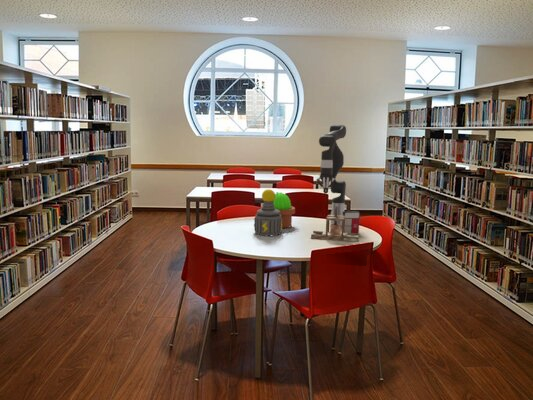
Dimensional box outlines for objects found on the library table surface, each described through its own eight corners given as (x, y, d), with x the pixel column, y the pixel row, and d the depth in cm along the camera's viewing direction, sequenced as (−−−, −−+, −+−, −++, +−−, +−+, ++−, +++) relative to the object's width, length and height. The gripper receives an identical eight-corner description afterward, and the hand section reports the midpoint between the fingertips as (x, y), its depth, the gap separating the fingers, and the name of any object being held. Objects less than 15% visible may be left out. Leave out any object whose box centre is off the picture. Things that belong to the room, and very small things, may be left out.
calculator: (343, 234, 326) (344, 212, 323) (341, 232, 330) (342, 211, 328) (359, 233, 328) (360, 212, 326) (356, 232, 332) (357, 211, 330)
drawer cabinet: (311, 238, 311) (311, 217, 309) (313, 234, 323) (313, 214, 321) (358, 241, 305) (358, 219, 303) (358, 237, 316) (359, 216, 314)
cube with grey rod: (322, 235, 311) (323, 206, 308) (323, 232, 319) (324, 204, 317) (347, 237, 307) (348, 207, 305) (347, 234, 316) (349, 205, 313)
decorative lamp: (279, 236, 314) (280, 191, 309) (251, 235, 317) (251, 190, 313) (284, 231, 332) (284, 188, 328) (257, 229, 336) (258, 187, 331)
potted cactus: (292, 229, 337) (293, 194, 334) (262, 228, 341) (262, 193, 338) (296, 223, 359) (297, 190, 355) (267, 222, 362) (268, 189, 359)
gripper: (337, 166, 311) (336, 193, 313) (316, 166, 313) (316, 192, 316) (336, 167, 303) (335, 194, 306) (315, 166, 306) (314, 193, 309)
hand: (325, 193), depth 311 cm, fingers closed
